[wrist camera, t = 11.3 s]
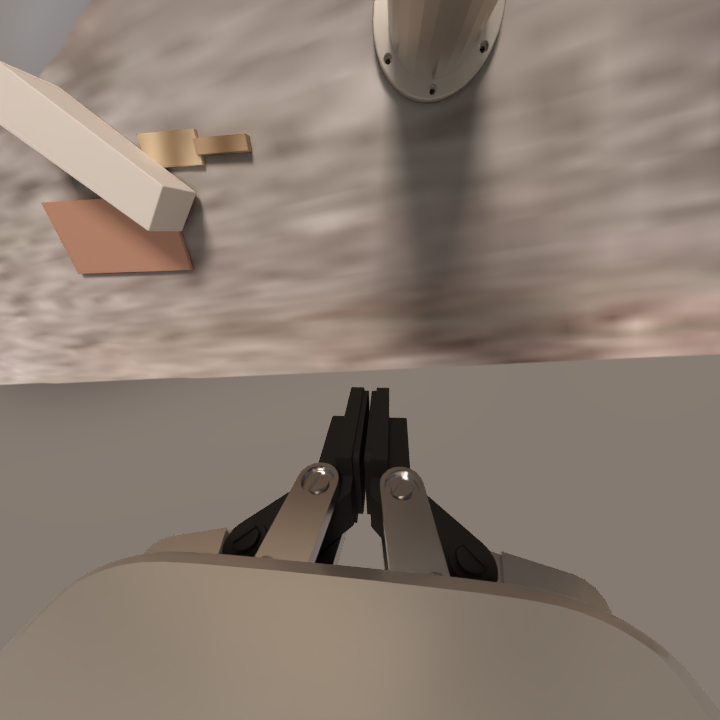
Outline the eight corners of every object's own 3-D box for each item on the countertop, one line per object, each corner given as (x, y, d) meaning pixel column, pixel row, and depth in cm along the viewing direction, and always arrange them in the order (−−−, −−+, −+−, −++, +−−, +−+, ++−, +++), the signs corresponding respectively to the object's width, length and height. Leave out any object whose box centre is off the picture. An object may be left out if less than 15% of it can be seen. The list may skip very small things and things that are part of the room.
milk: (197, 193, 36) (33, 65, 32) (162, 186, 31) (-40, 30, 27) (182, 232, 39) (27, 118, 35) (147, 232, 33) (-41, 96, 29)
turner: (152, 169, 36) (146, 168, 35) (140, 135, 35) (134, 133, 34) (253, 161, 34) (249, 160, 33) (247, 125, 33) (242, 122, 32)
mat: (45, 203, 40) (41, 202, 39) (169, 194, 37) (165, 193, 37) (82, 273, 44) (78, 273, 44) (193, 269, 42) (191, 269, 41)
